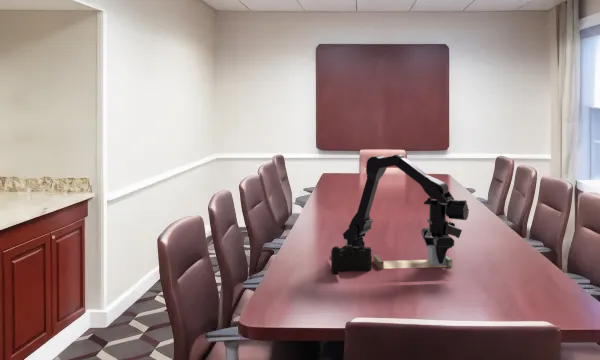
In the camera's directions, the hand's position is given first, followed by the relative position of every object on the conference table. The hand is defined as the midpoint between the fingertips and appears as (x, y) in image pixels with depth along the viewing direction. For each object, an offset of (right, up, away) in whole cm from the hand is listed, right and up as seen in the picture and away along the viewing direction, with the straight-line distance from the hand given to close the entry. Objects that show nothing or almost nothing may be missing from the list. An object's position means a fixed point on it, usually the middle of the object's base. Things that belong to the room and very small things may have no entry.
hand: (436, 260), depth 200 cm
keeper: (0, -1, 0) cm, 1 cm away
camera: (-31, -3, -5) cm, 32 cm away
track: (-9, -2, 0) cm, 9 cm away
